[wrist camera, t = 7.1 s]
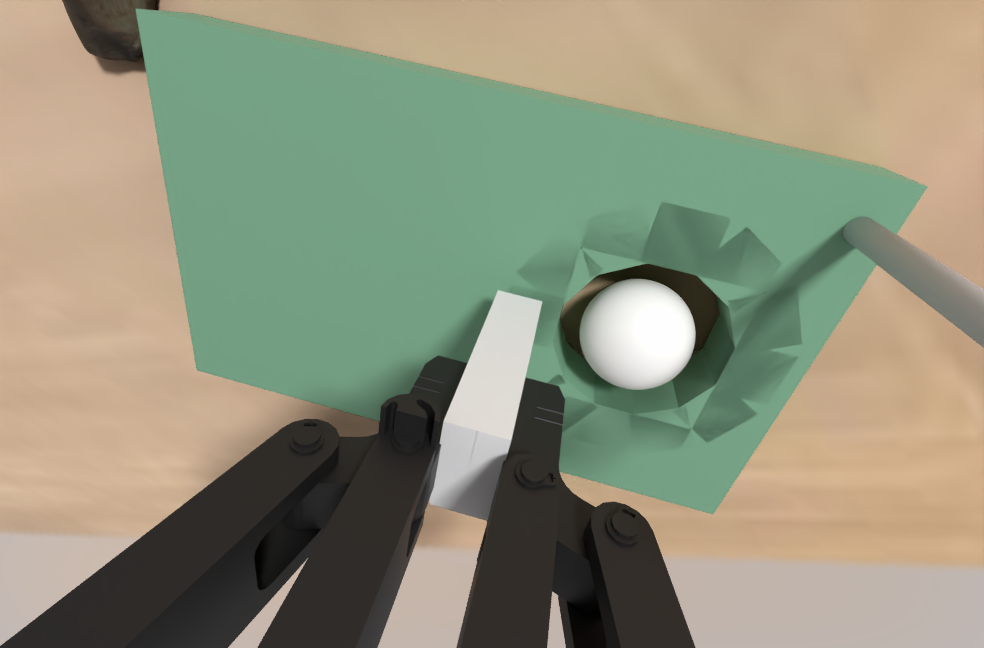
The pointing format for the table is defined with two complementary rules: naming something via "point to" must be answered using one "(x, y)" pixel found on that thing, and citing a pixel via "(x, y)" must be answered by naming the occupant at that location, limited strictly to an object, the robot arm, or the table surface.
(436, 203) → the green
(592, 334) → the ball
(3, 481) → the table surface
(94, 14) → the stone
